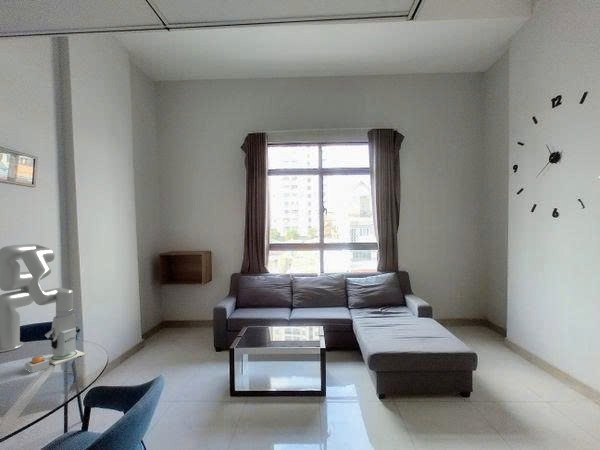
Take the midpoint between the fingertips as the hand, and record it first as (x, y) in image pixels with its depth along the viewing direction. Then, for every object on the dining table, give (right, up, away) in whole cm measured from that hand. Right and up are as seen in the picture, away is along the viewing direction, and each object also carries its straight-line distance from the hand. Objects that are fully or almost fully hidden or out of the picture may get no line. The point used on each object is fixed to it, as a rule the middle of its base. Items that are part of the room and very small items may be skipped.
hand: (64, 344), depth 164 cm
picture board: (0, -7, 0) cm, 7 cm away
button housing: (-4, -7, -13) cm, 15 cm away
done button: (-4, -4, -13) cm, 14 cm away
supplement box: (0, -5, 0) cm, 5 cm away
